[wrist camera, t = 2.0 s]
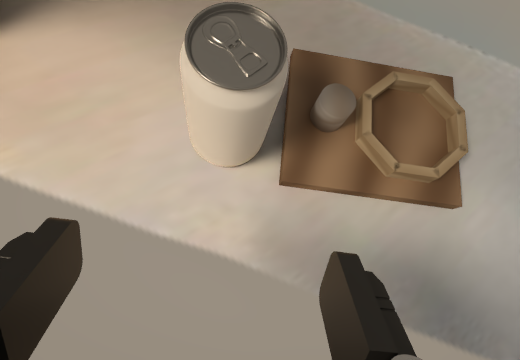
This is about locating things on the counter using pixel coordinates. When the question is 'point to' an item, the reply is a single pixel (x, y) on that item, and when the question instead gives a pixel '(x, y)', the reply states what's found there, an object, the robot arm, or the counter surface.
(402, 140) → the board
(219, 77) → the can
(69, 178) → the counter surface
